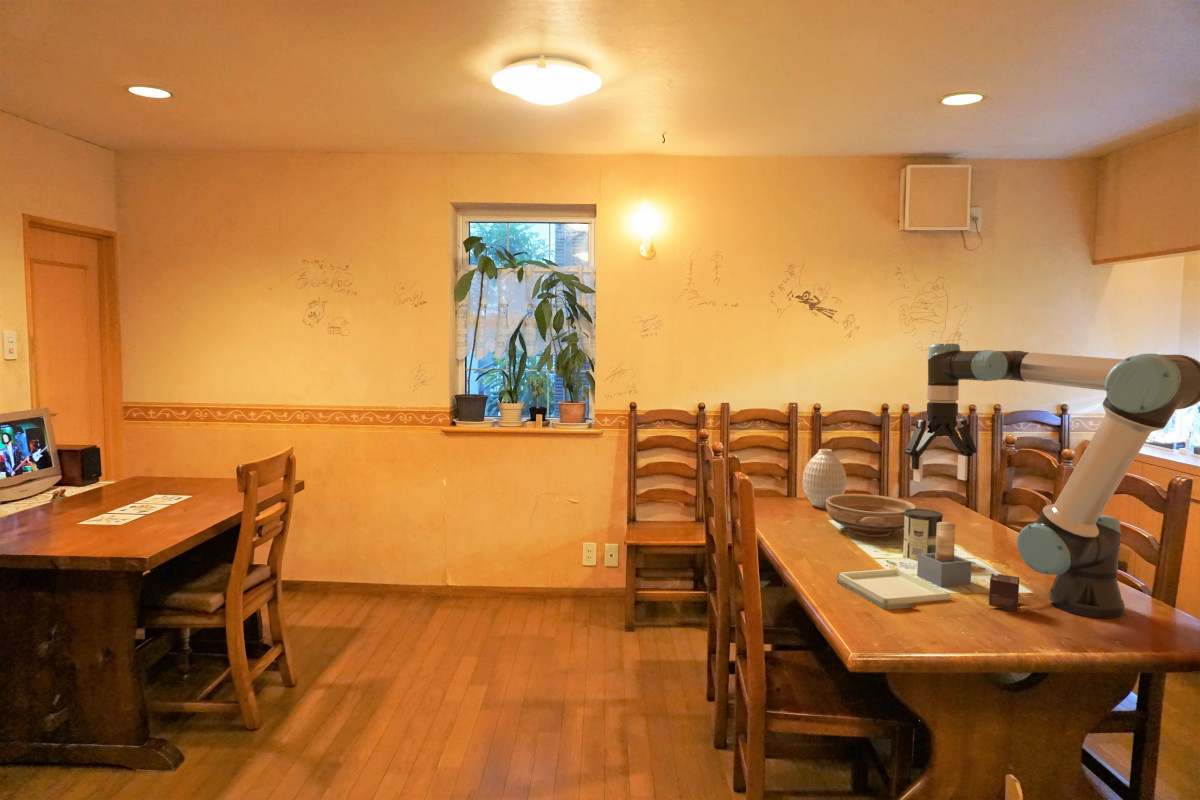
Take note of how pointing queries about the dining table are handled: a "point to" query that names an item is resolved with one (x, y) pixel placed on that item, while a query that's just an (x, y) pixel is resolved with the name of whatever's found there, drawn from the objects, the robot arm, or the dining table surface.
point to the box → (1004, 592)
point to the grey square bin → (944, 570)
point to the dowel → (945, 542)
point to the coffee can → (920, 532)
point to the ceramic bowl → (868, 513)
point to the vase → (823, 478)
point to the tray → (891, 588)
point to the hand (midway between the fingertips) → (940, 480)
